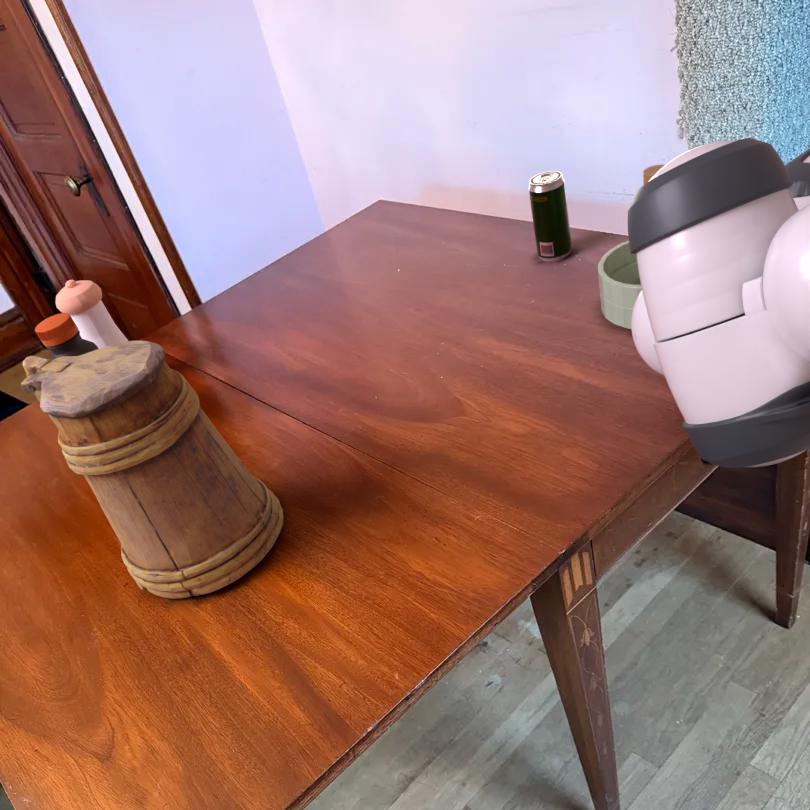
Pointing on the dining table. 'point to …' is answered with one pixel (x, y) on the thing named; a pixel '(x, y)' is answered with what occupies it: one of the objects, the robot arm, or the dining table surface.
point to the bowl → (619, 284)
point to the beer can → (550, 216)
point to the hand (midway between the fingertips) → (687, 225)
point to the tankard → (156, 468)
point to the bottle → (63, 337)
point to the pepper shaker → (89, 312)
